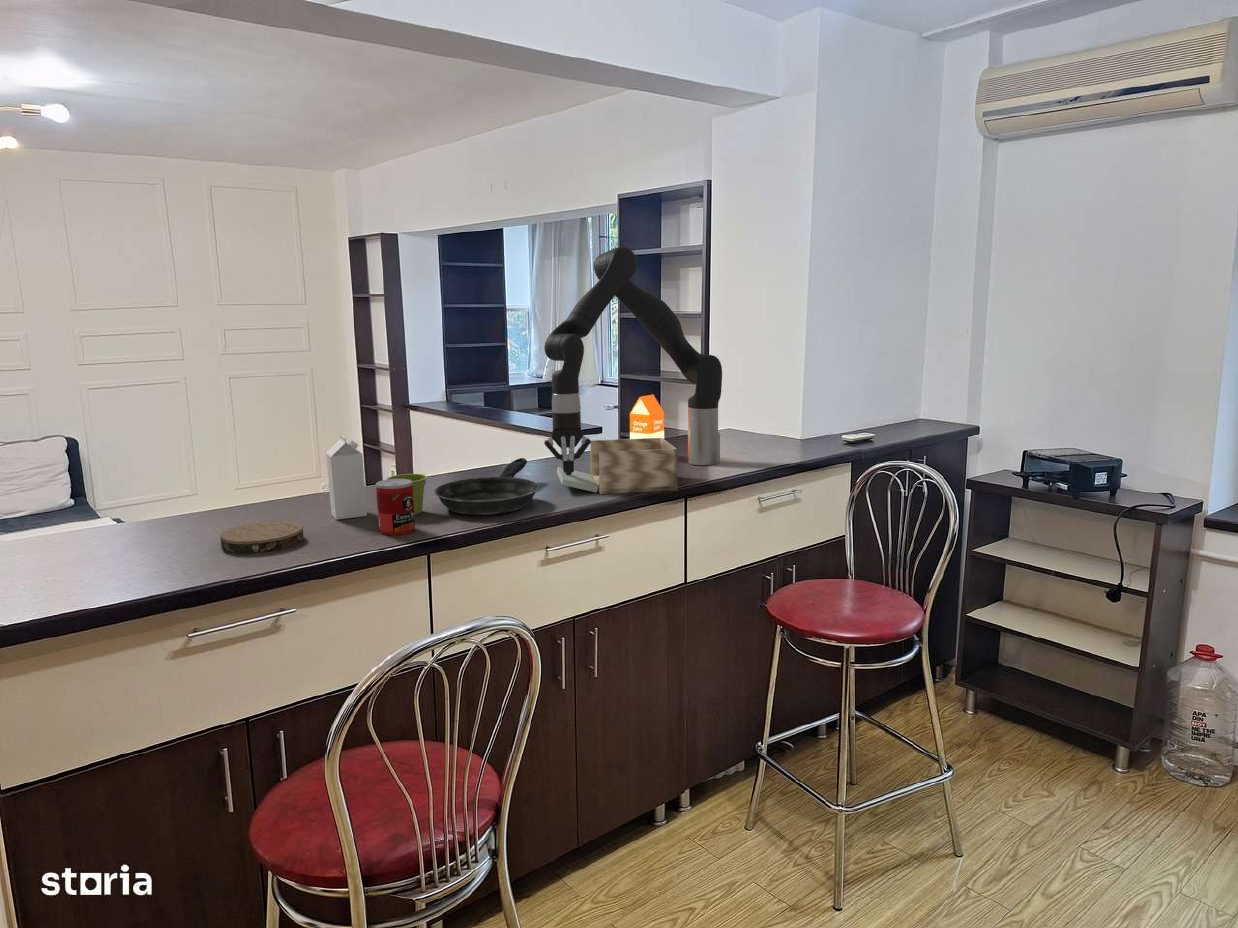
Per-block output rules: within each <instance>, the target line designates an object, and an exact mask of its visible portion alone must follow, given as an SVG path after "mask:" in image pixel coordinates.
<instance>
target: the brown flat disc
mask: <svg viewBox="0 0 1238 928" xmlns="http://www.w3.org/2000/svg"><path fill="white" fill-rule="evenodd" d="M219 538H220V545H221V546H220V547H221V550H222V552H224V553H227V554H230V555H231V554H232V555H259V554H267V553H275V552H279V551H283V550H287V549H290V548H294V547H295V546H298V545H299V544H301V543H303V541H304V538H305V537H304V527H303V525H302V524H301V523H299V522H294V521H283V520H281V521H280V520H278V521H275V520H274V521H260V522H255V523H248V524H243V525H239V526H234V527H232V528H229V529H226V530H225V531H223V532H222V533H220V535H219Z"/></svg>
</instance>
